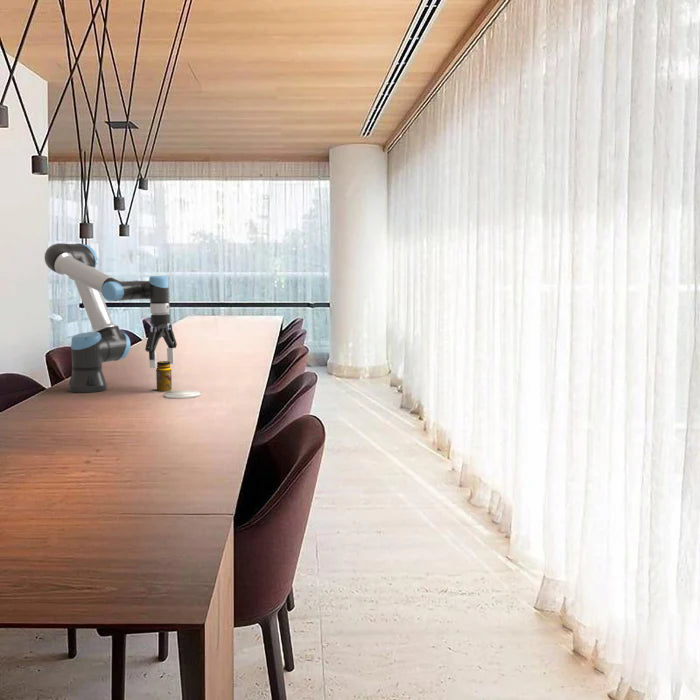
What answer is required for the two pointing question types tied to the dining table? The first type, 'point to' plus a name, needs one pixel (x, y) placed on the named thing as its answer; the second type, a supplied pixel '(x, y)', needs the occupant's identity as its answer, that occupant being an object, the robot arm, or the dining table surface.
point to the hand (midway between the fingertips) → (162, 365)
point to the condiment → (163, 377)
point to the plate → (182, 394)
